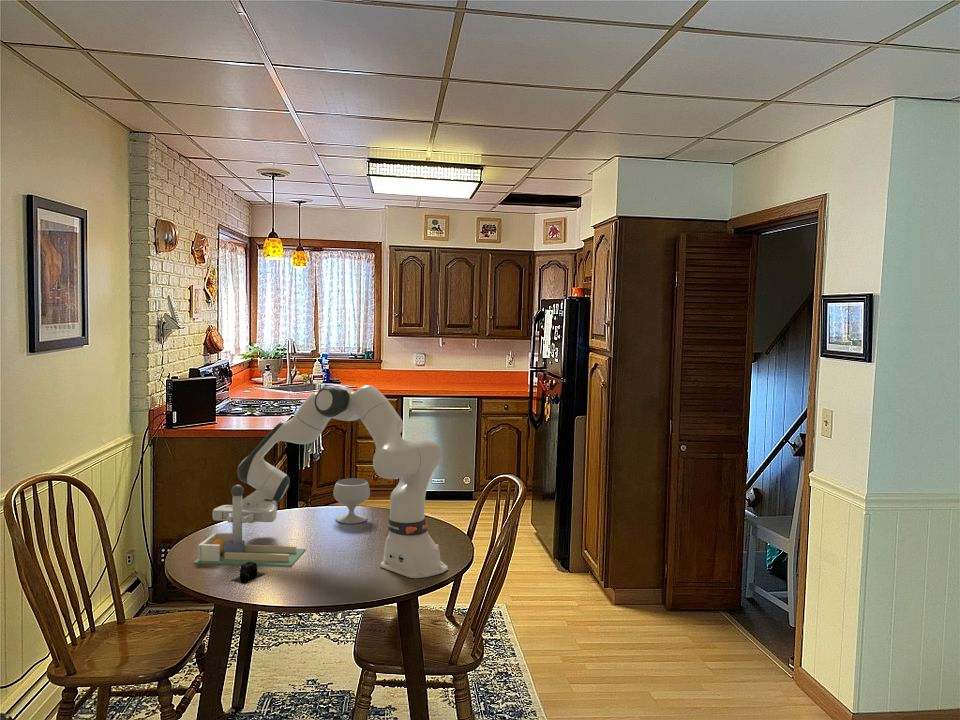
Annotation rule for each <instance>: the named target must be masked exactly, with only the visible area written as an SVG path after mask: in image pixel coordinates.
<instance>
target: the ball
mask: <svg viewBox="0 0 960 720" xmlns="http://www.w3.org/2000/svg"><path fill="white" fill-rule="evenodd" d="M225 543H226V542H225V541H224V540H223V539H216V540H214V541H213V542H212V543H211V544H214V545H220V554H222V553H223V552H224V544H225Z"/></svg>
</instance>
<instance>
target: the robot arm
mask: <svg viewBox="0 0 960 720" xmlns="http://www.w3.org/2000/svg"><path fill="white" fill-rule="evenodd" d="M332 419H335V420H338V421H343V422H352V423H354V422H360V421H361V422H362V424H363V425H364V427H365V428H366V430H367V431H368V433H369V434H370V436H371V438H372V440H373V442H374V445H375V452H374V454H373V459H372V466H373V470H374V472H375V473H376V475H377V476H378V477H379V478H382V479H389V480H399V482H398V483H397V485H396V487H395V488H394V489H393V490H392V491H391V493H390V496H389V517H388V522H387V530H388V535H387V537H386V539H385V540H384V541H385V542H384V548H383V550H384V552H383V559H382V561H380V567H381V568H382V569H384V570H388V571H389V572H390V571H391V572H394V573H395V574H399V575H401V576H405V577H407V578H411V579H420V578H428V577H432V576H436V575H440V574H443V573H444V572H446V571H447V570H449V568H448V565H447V564H446V563H444V562H443V561H441V553H440V545H439V544H437V543H436V542H435V541H434V540H433V538H432V537H431V535H430V534H429V532H428V530H429V524H427V520H426V517H425V509H426V508H425V507H426V495H427V490H428V486H429V483H430V480H431V477H432V475H433V474H434V472H435V471H436V469H437V467H438V466H439V465H440V464H441V461H442V450H441V447H440V446H439V444H438V443H437V442H435V440H431V439H423V438H422V439H420V438H419V439H413V440H407V441H406V440H405V439H404V438H403V437H402V434H401V433H402V431H403V429H404V428H403V427H404V421H403V419H402V418H401V416H400V415H399V413H398V412H397V411H396V409H395V408H394V406H393V405H392V404H391V403H390V401H389V400H388V398H387V397H386V396H385V395H384V394H383V393H382V392H381V391H380V390H379V389H377V387H376V386H375V385H370V384H368V385H367V384H366V385H363V386H360V387H359V388H358V389H357V390H353V389H350V388H349V387H341V386H336V385H326V386H324V387H322V388H320V389H319V390H318V391H314V392H312V393H311V394H310V395H309V396H308V397H307V398H306V399H305V400H304V402H302V404H301V406H299V408H298V410H297V412H296V413H295V415H294V416H293V417H292V418H290V419H289V420H282V421H280V422H279V423H278V424H276V425H275V426H274V427H273V428H272V429H271V430H270V431H269V432H268V433H267V435H266V436H265V437H264V438H262V440H261V441H260V443H258V445H256V447H255V448H254V449H253V450H252V451H251V452H250V453H249V455H247V456H246V457H245V458H244V459H243V460H242V461H241V462H240V463H239V464H238V466H237V470H236V473H237V476H238V479H239V481H241V482H242V483H244V484H247V485H249V486H251V487H252V488H254V489H256V490H254V491H253V492H251V493H250V494H249V495H246V497H244V498H242V518H241V520H242V521H241V523H242V524H246V523H248V524H253V523H273V522H275V520H277V514H278V513H277V512H278V506H277V504H278V503H280V501H281V500H282V499H283V498H284V496H285V495H286V494H287V492H288V491H289V488H290V478H289V475H288V474H287V473H285V472H283V471H282V470H280V469H279V468H277V467H275V466H274V465H272V464H270V463H269V462H267V461H266V460H265V458H264V457H265V455H266V454H268V452H269V451H270V450H271V449H272V448H273V447H274V446H275V444H277V443H278V442H287V443H292V444H296V445H309V444H312V443H314V442H315V441H317V439H319V437H320V436H321V434H322V433H323V431H324V430H325V428H326V427H327V425H328V423H329V422H330V420H332ZM232 517H233V504H222V505H219V506H217V507H215V508H213V510H212V520H214V521H218V522H219V521H222V522H223V521H224V522H225V521H226V522H227V523H232Z"/></svg>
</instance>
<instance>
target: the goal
mask: <svg viewBox="0 0 960 720" xmlns="http://www.w3.org/2000/svg"><path fill="white" fill-rule="evenodd" d="M216 539H223V540H224V541H225V542H228V541H229V540H232V532H214V533H213V534H211V535H210V536H208V538H206V539H204V540H203V541H201V542H200V543H199V544H198V547H197V548H198V551H197V552H198V553H197V554H198V558H197V559H198V561H220V545H214V544H211V543H212V542H213V541H214V540H216ZM296 549H298V547H297V546H296V545H273V544H272V545H271V544H268V545H267V544H245V551H246V552H277V553H296ZM224 559H231V560H262V561H289V554H270V553H239V552H225V553H224Z"/></svg>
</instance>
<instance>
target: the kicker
mask: <svg viewBox="0 0 960 720" xmlns="http://www.w3.org/2000/svg"><path fill="white" fill-rule="evenodd" d="M244 492H245V488H244V487H243V486H242V485H241V484H235V485H233V486H232V487H231V489H230V493H231V495H232V505H233V517H232V522H231V523H232V532H231V533H232V540H229V541H228V542H226V543H225V544H224V553H225V552H239V553H243V552H244V551H245V545H246V543H245V539H244V540H243V523H241V521H242V520H241V518H242V500H243V495H244V494H245V493H244Z"/></svg>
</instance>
